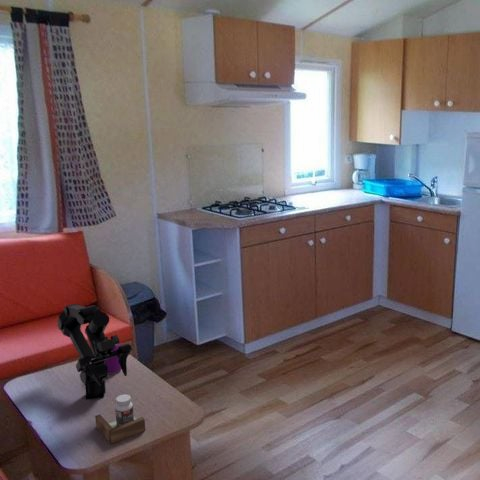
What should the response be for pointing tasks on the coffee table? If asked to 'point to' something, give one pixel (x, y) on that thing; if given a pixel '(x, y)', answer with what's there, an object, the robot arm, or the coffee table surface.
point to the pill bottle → (124, 410)
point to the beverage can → (113, 363)
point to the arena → (119, 428)
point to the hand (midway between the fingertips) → (113, 380)
